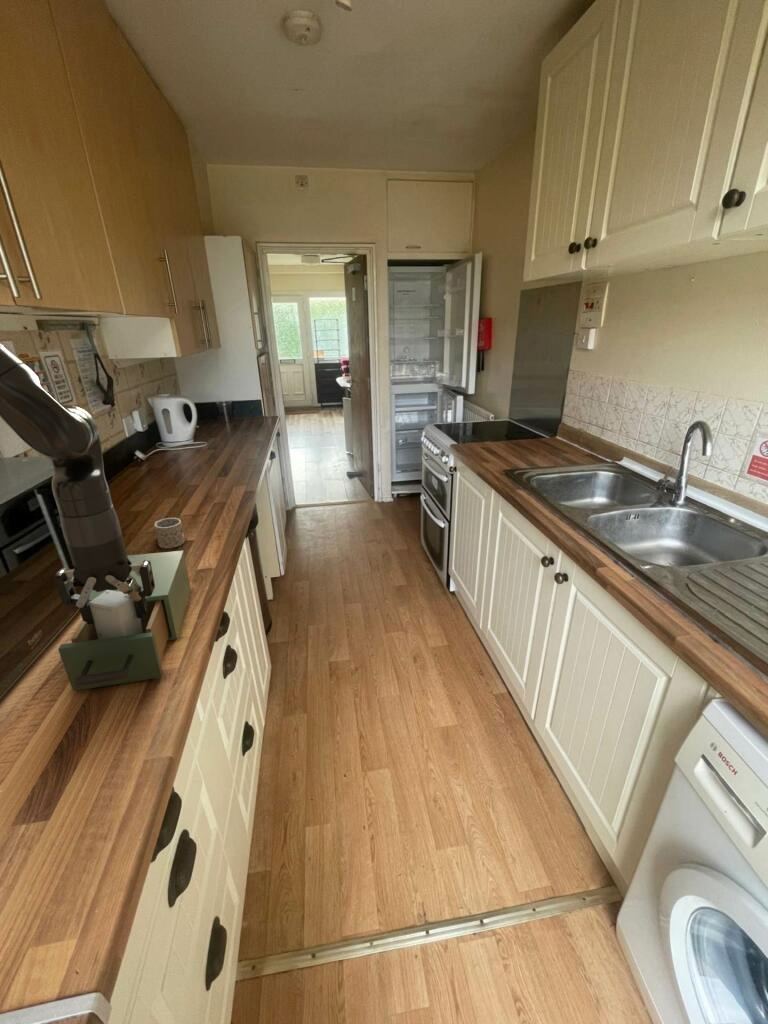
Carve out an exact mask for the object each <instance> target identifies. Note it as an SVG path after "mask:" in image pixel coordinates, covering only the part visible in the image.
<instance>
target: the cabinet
mask: <svg viewBox="0 0 768 1024" xmlns="http://www.w3.org/2000/svg"><path fill="white" fill-rule="evenodd" d="M127 557H128V559H129V561H130V562H132V564H133V563H143V561H144V560H149V561H150V562H151V567H152V572H153V577H154V583H155V588H154V591H153V593H152V595H151V596H150V597H147V596H146V597H145V598H146V601H153V600H162V599H163V600H164V604H165V609H166V613H167V618H168V622H169V627H170V633H169V636H168V639H167V641H172V640H173V641H174V640H178V637H179V633H180V630H181V627H182V624H183V623H182V622H183V619H184V617H185V612H186V610H187V609H186V608H187V605H188V602H189V598H190V594H191V590H192V588H191V583H190V577H189V571H188V566H187V562H186V557H185V551H184V550H174V551H173V550H172V551H163V552H153V553H141V554H128V555H127ZM130 575H131V576H132V577H133V578H135V579H136V582H137V583H138V584H139V585H140V586H141V587H143V586H142V581H141V576H138V575H137V574H136V572H135V571H131V573H130ZM124 583H125V584H126V582H124ZM105 591H107V590H104V591H101V592H96V591H95V590H93V591H92V593H91V595H90V597H89V600H93V599H95V598H96V597H98V596H99V595H101V594H102V593H104V592H105ZM112 591H116V592H121V591H120V590H119V589H117V590H112Z"/></svg>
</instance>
